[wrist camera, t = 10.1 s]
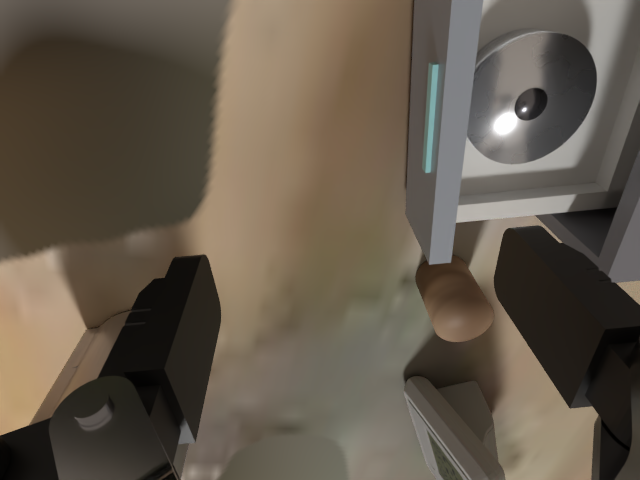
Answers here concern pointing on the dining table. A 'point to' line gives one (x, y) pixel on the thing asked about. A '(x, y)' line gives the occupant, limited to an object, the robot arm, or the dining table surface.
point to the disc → (529, 94)
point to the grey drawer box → (454, 107)
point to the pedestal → (454, 300)
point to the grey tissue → (454, 430)
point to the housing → (606, 232)
